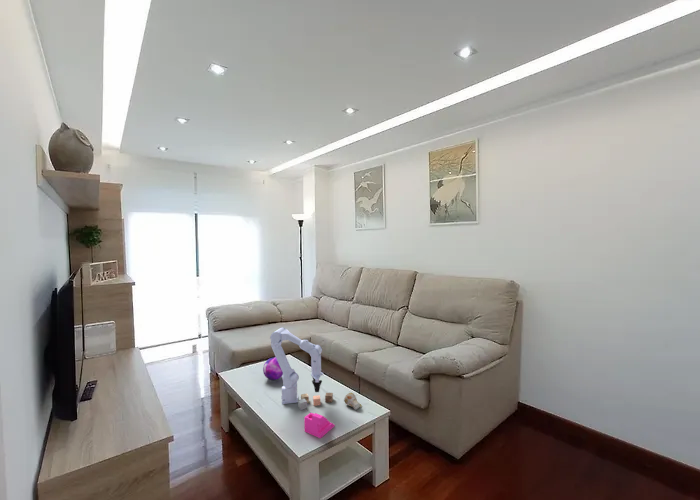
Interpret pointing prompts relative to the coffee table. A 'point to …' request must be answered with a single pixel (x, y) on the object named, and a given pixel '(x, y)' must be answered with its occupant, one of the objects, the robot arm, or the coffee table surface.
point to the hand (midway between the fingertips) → (316, 388)
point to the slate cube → (302, 404)
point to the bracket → (317, 425)
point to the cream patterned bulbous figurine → (352, 401)
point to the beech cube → (305, 397)
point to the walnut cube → (329, 397)
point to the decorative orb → (272, 369)
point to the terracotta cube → (316, 400)
